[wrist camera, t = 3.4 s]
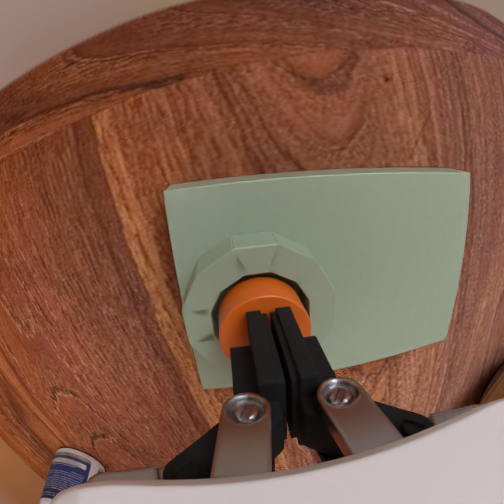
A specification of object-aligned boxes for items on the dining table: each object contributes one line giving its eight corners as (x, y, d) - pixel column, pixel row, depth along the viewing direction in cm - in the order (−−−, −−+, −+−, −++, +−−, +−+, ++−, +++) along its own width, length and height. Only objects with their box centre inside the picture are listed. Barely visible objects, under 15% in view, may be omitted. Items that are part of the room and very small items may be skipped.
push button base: (203, 366, 18) (202, 412, 15) (170, 184, 15) (154, 198, 11) (429, 323, 19) (460, 354, 16) (447, 167, 16) (492, 177, 12)
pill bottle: (47, 449, 21) (22, 523, 12) (75, 442, 20) (50, 528, 11) (85, 477, 23) (70, 548, 13) (116, 471, 22) (103, 553, 13)
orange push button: (224, 351, 14) (225, 376, 12) (212, 281, 13) (212, 302, 11) (301, 340, 14) (311, 364, 12) (300, 270, 13) (312, 289, 11)
